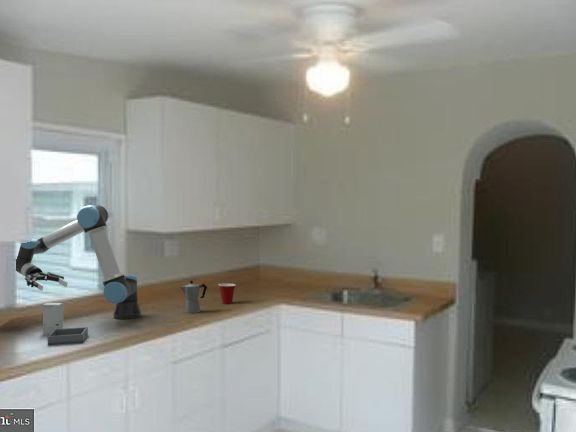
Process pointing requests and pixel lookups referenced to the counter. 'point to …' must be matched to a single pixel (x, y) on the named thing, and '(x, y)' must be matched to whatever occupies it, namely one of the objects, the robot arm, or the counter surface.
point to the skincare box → (52, 317)
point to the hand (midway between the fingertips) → (54, 286)
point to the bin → (68, 336)
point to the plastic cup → (227, 292)
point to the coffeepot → (193, 297)
